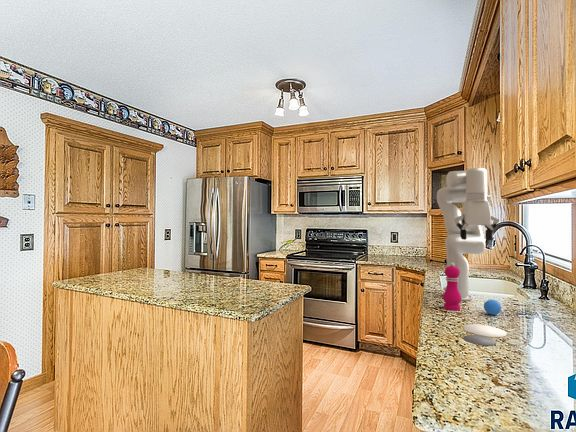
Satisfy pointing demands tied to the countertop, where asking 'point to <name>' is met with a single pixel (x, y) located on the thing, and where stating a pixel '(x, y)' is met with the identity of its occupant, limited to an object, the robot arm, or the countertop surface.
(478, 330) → the white disc
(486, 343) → the charcoal disc
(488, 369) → the countertop surface
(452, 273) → the pepper mill
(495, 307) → the blue ball
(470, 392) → the countertop surface
